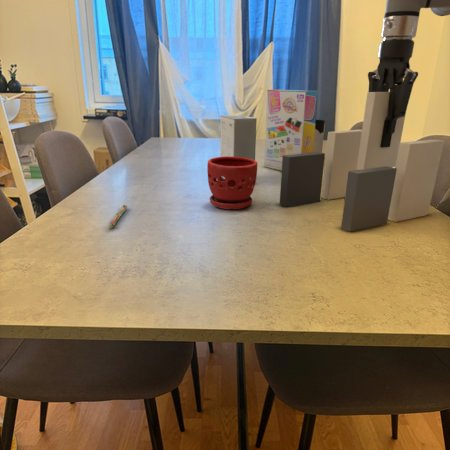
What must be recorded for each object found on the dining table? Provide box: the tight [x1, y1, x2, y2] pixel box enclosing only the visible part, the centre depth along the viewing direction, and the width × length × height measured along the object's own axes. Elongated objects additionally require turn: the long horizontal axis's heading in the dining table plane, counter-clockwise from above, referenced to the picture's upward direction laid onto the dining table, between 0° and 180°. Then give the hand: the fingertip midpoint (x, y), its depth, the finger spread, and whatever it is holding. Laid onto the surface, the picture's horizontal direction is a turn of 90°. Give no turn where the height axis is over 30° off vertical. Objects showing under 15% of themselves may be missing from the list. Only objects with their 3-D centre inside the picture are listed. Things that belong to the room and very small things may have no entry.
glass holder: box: [313, 119, 326, 153], centre depth 185 cm, size 9×14×15 cm, turn 145°
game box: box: [264, 89, 319, 172], centre depth 155 cm, size 21×6×27 cm, turn 34°
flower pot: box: [206, 156, 258, 210], centre depth 115 cm, size 13×13×12 cm
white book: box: [357, 91, 407, 170], centre depth 109 cm, size 2×12×18 cm, turn 120°
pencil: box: [108, 204, 128, 229], centre depth 106 cm, size 1×1×18 cm
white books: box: [320, 129, 445, 223], centre depth 114 cm, size 27×12×18 cm, turn 30°
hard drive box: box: [220, 114, 258, 179], centre depth 142 cm, size 16×8×20 cm, turn 17°
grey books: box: [279, 152, 397, 233], centre depth 108 cm, size 27×12×13 cm, turn 30°
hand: (380, 146), depth 111 cm, fingers closed on white book, 2 cm apart
